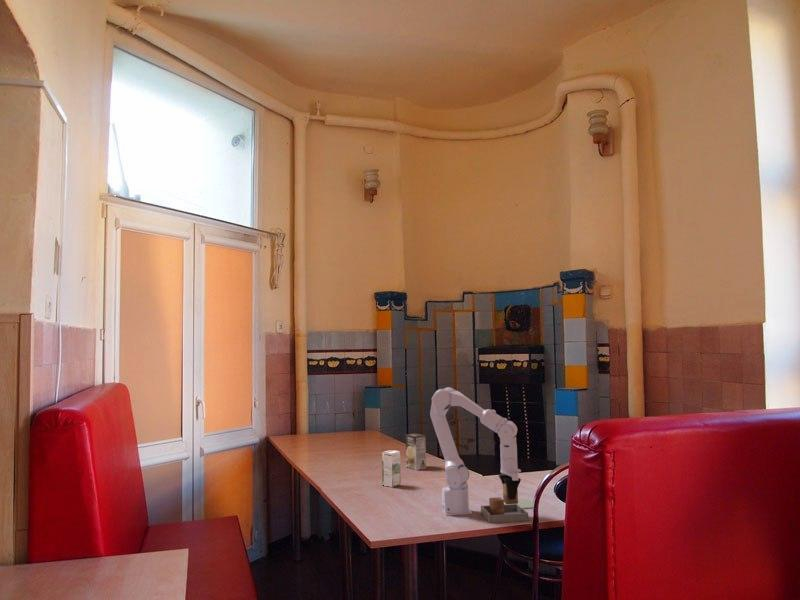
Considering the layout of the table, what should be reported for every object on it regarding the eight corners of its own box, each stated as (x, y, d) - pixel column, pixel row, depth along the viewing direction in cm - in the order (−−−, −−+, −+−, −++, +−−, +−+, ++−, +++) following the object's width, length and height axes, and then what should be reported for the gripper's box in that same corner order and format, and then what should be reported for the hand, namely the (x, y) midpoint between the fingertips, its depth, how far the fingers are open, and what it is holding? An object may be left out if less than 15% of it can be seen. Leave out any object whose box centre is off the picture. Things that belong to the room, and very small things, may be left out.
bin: (490, 523, 195) (489, 515, 195) (481, 513, 207) (480, 505, 207) (528, 521, 196) (528, 513, 196) (517, 511, 208) (517, 503, 209)
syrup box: (390, 483, 256) (389, 449, 257) (401, 485, 252) (400, 450, 253) (382, 486, 251) (381, 451, 252) (392, 487, 247) (391, 453, 249)
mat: (513, 510, 210) (513, 508, 210) (506, 503, 219) (506, 501, 219) (537, 508, 211) (537, 506, 211) (529, 502, 220) (529, 500, 220)
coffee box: (405, 467, 288) (404, 434, 289) (416, 465, 291) (415, 433, 293) (416, 470, 280) (415, 436, 281) (427, 468, 284) (426, 435, 285)
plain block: (492, 518, 199) (492, 500, 200) (489, 515, 203) (489, 497, 204) (504, 518, 200) (503, 500, 200) (501, 514, 204) (500, 497, 204)
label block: (506, 504, 200) (506, 486, 201) (503, 501, 204) (502, 483, 205) (518, 503, 201) (517, 485, 201) (514, 500, 204) (513, 482, 205)
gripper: (526, 460, 197) (528, 502, 196) (513, 452, 211) (515, 491, 210) (506, 461, 196) (507, 503, 195) (494, 453, 210) (496, 492, 209)
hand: (510, 497), depth 202 cm, fingers closed on label block, 4 cm apart
